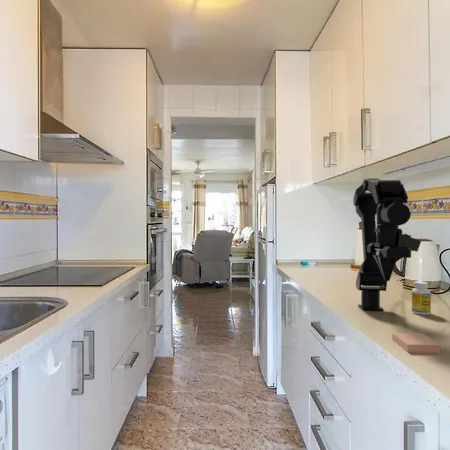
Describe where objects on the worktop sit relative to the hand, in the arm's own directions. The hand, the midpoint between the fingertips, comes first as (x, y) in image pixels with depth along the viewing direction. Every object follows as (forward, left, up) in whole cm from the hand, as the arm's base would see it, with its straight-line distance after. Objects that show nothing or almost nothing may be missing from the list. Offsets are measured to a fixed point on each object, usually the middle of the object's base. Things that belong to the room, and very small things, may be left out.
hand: (387, 280), depth 111 cm
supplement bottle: (-14, +15, -12) cm, 24 cm away
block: (+15, 0, -11) cm, 19 cm away
